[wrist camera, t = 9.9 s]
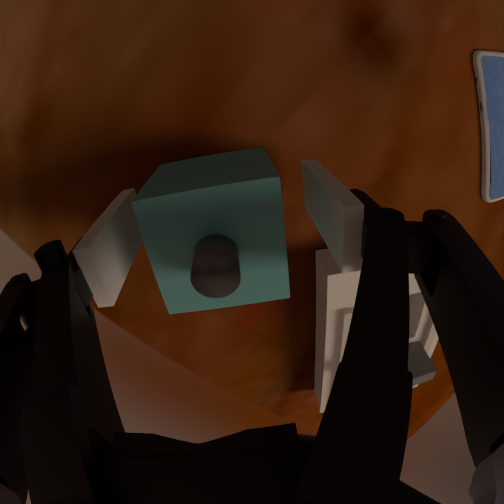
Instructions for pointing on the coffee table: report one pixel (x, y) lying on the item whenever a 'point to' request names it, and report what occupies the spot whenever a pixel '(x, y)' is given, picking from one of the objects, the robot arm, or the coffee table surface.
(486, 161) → the blue flat panel
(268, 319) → the coffee table surface
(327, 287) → the grey tray
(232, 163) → the plug
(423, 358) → the shutter
